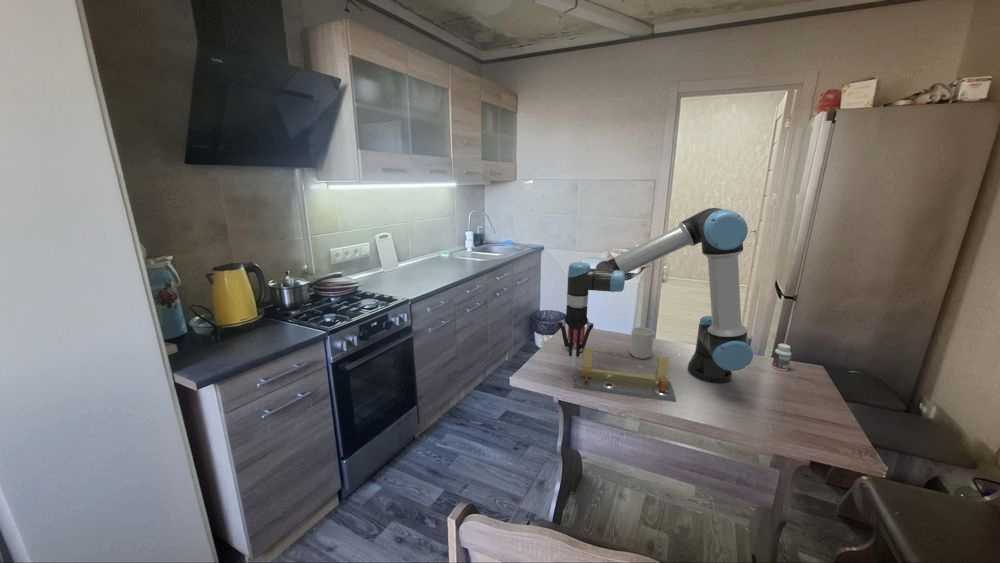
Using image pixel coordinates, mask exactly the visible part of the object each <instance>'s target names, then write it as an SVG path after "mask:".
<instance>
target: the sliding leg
mask: <svg viewBox="0 0 1000 563" xmlns="http://www.w3.org/2000/svg"><path fill="white" fill-rule="evenodd" d="M593 357H594V348H593V347H590V346H589V347H588V346H587V347H586V346H585V348H584V349H583V362H582V367H583V374H582V376H584V377H585V381H586V382H587V380H588V377H591V372H592V369H593Z"/></svg>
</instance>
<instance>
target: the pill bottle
mask: <svg viewBox="0 0 1000 563" xmlns="http://www.w3.org/2000/svg"><path fill="white" fill-rule="evenodd" d="M791 358H792V352H791V345H788V344H786V343H779V344H777V348H776V349H774V353H773V358H772V365H771V366H772V367H773V369H775V370H778V371H784V372H786V371H788V370H789V367H790V362H791Z"/></svg>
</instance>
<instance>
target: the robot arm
mask: <svg viewBox="0 0 1000 563" xmlns="http://www.w3.org/2000/svg"><path fill="white" fill-rule="evenodd" d="M748 230H749V228H748V224H747V222H746V220H745V218H744V217H743V216H741V214H739V213H737V212H736V211H733V210H730V209H722V208H719V207H711V208H707V209H703V210H702V211H700V212H698V213H696V214H693V215H692V216H690V217H688V218H687V219H684V220H682V221H680V222H679V224H678V226H676V227H674V228H672V229H670V230H668V231H666V232H664V233H662V234H659V235H657V236H656V237H654V238H651V239H650V240H647V241H645V242H643V243H642V244H639V245H637V246H635V247H632V248H631V249H629V250H627V251H624V252H623V253H620V254H618V255H617V256H613V258H610V259H608V260H601V261H599V262H598V263H597V264H596V265H595V268H594V269H592V268H591V264H589V263H588V262H582V261H577V262H576V261H575V262H571V263H570V264H569V266H568V271H567V292H566V308H565V309H566V310H565V316H564V319H561V320H559V321H558V326H559V328H560V330H561V335H562V340H563V344H564V347H566V348H567V347H569V350H568V357H571V366H576V363H577V358H579V357H580V353H581V352H580V349H581V348H585V347H586V344H587V341H588V338H589V335H590V332H591V331H592V330H593V329H594V323H593V322H590V321H589V319H588V305H589V304H588V303H589V291H596V292H597V291H598V292H611V293H621V292H623V290H625V282H626V280H625V279H626V278H625V275H626V274H628V273H630V272H632V271H635V270H637V269H639V268H641V267H644V266H645V265H648V264H650V263H652V262H654V261H657V260H658V259H660V258H663V257H665V256H668V255H670V254H671V253H674V252H676V251H678V250H680V249H683V248H685V247H687V246H690V247H693V246H696V245H698V244H700V243H701V254H702V255H704V257H706V258H707V266H708V278H709V279H708V280H709V282H708V283H709V294H710V309H711V310H710V311H711V315H707V316H702V317H700V319H699V323H698V329H697V330H698V331H697V336H696V345H695V351H694V353H693V355H692V357H691V358H690V360H689V362H688V365H687V372H688V374H690V375H691V376H692V377H694V378H696V379H698V380H700V381H704V382H707V383H711V384H712V383H713V384H727V383H729V382H730V381H731V380H732V377H733V372H736V371H737V372H738V371H741V370H743V369H746V367H748V366H750V364H751V363H752V361H753V358H754V351H753V349H752V347H751V345H750V344H749V342H748V328H747V327H745V326H744V325H743V324H742V311H741V293H740V290H741V288H740V272H739V270H740V269H739V255H740V254H742V252H744V242H745V241H746V239H747V236H748V232H749V231H748ZM566 325H567V326H569V328H570V343H569V342H568V333H567V329H566ZM584 326H585V327H586V330H585V334H584V339H583V342H582V344H580V337H581V329H582V328H583V327H584ZM574 329H577V345H576V347H574V346H573V337H574Z"/></svg>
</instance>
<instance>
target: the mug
mask: <svg viewBox="0 0 1000 563" xmlns="http://www.w3.org/2000/svg"><path fill="white" fill-rule="evenodd" d="M654 337H655V331H654V330H653V329H650V328H649V327H648V328H647V327H642V326H640V327H639V326H636V327H633V328H631V336H630V346H629V353H630V354H631V355H632V357H634V358H636V359H641V360H643V359H649V358H650V357H651V356H652V354H653V346H654Z"/></svg>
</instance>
